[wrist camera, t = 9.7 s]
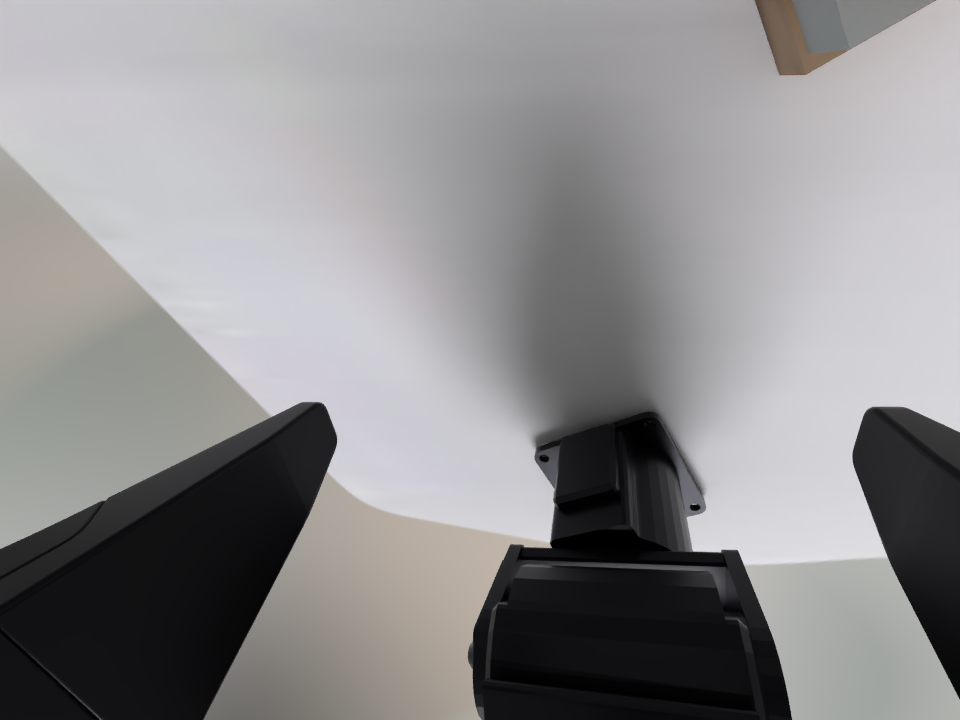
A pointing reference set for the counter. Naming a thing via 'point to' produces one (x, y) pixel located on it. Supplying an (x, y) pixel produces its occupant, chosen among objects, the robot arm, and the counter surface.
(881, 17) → the top slab
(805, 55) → the base slab
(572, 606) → the robot arm
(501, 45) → the counter surface
